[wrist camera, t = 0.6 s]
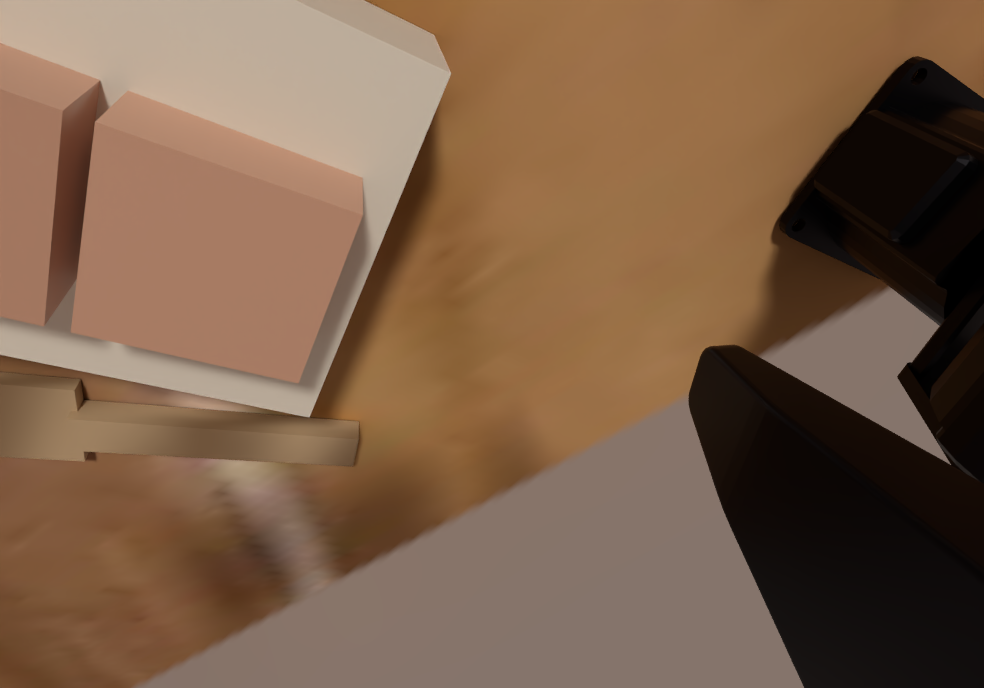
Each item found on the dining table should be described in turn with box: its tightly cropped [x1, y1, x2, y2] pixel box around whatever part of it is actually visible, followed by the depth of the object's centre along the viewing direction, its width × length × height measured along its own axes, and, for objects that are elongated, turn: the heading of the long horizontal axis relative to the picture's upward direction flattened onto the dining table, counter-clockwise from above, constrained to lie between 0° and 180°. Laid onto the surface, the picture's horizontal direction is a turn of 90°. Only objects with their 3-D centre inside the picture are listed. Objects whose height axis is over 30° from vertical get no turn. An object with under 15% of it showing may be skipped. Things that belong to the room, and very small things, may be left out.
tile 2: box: [71, 91, 363, 383], centre depth 14 cm, size 5×5×2 cm
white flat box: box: [0, 0, 451, 417], centre depth 15 cm, size 12×11×4 cm
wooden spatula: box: [0, 372, 359, 466], centre depth 23 cm, size 15×4×1 cm, turn 74°
